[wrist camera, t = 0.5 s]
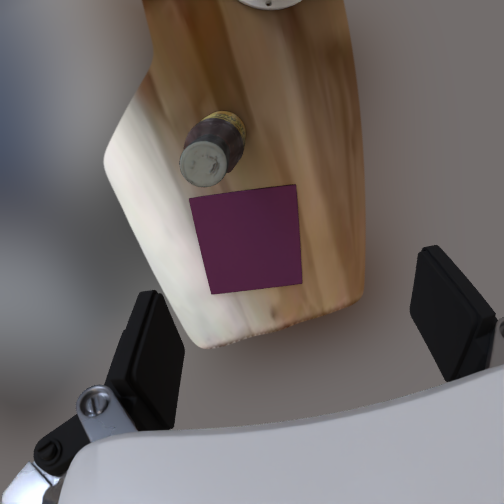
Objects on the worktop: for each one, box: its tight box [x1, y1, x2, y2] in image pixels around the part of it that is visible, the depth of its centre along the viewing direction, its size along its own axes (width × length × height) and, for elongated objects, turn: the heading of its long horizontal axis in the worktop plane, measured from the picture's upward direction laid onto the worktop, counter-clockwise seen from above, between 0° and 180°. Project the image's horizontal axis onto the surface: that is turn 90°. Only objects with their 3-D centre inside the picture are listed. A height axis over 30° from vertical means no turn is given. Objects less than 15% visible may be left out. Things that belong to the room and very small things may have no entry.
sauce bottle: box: [179, 111, 246, 187], centre depth 34 cm, size 7×6×20 cm
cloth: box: [189, 184, 302, 294], centre depth 52 cm, size 18×16×1 cm
